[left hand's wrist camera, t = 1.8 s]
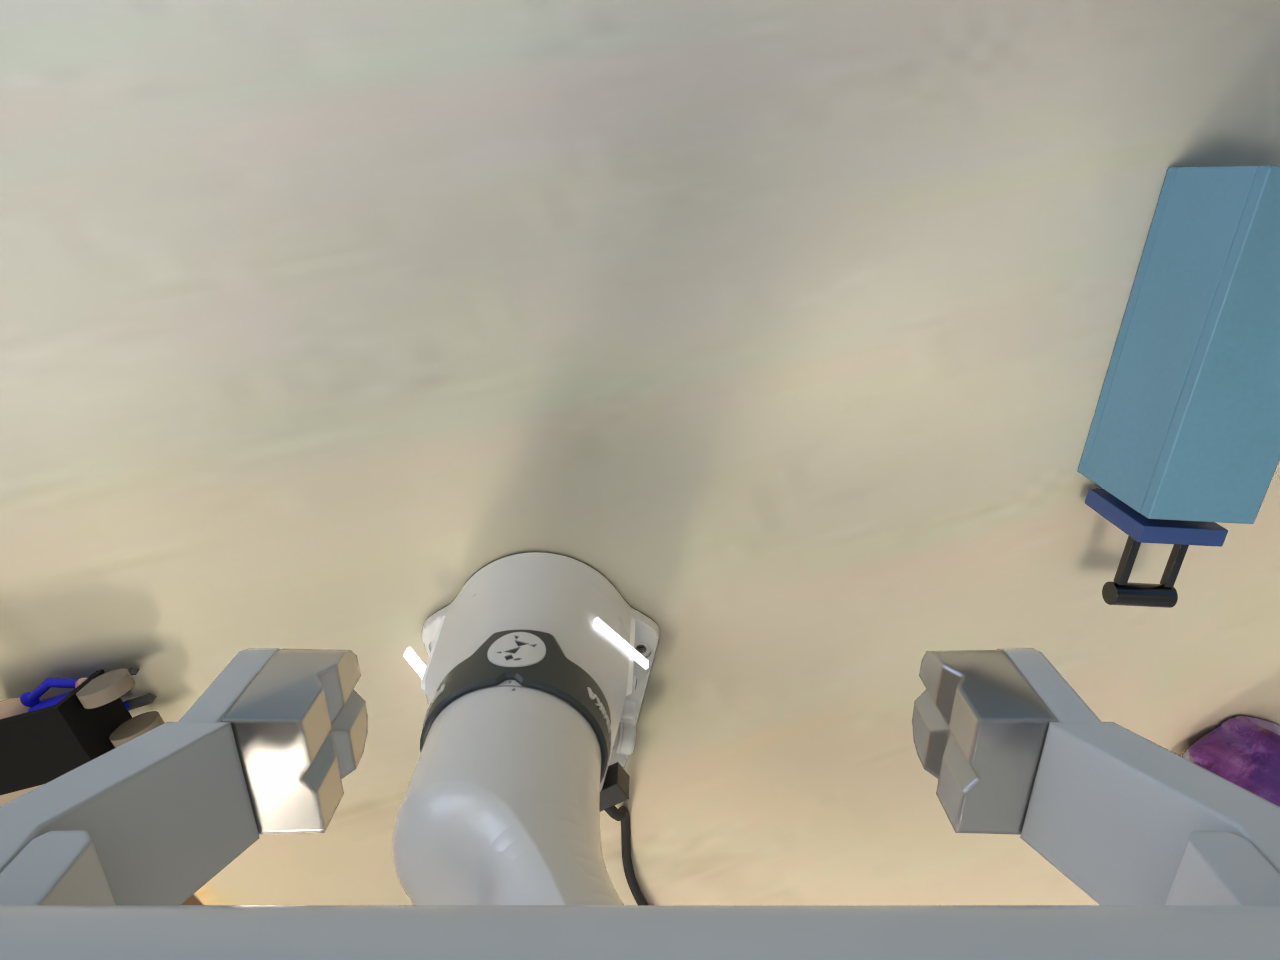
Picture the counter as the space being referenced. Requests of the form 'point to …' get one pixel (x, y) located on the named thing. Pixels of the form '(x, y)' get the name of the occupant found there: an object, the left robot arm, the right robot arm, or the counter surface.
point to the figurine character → (68, 727)
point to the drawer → (1149, 532)
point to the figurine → (1242, 755)
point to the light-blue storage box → (1197, 355)
